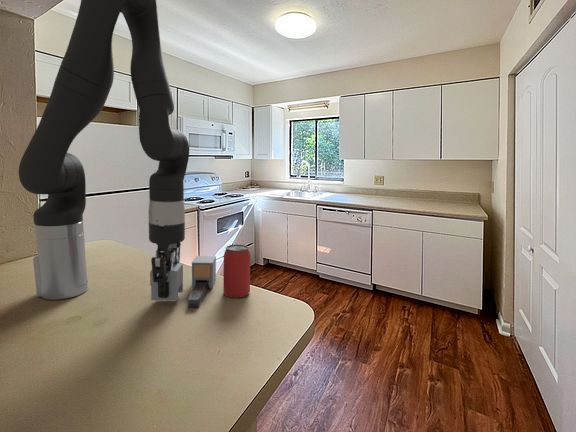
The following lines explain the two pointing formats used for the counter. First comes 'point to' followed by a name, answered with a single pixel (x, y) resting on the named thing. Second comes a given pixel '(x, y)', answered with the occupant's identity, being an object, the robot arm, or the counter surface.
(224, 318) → the counter surface
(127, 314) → the counter surface
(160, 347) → the counter surface
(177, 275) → the grey block
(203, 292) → the rail
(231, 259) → the beer can
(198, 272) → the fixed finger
